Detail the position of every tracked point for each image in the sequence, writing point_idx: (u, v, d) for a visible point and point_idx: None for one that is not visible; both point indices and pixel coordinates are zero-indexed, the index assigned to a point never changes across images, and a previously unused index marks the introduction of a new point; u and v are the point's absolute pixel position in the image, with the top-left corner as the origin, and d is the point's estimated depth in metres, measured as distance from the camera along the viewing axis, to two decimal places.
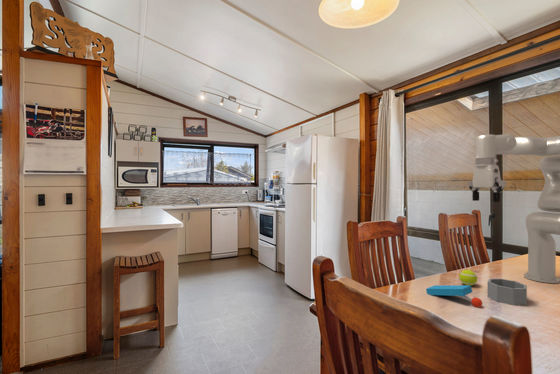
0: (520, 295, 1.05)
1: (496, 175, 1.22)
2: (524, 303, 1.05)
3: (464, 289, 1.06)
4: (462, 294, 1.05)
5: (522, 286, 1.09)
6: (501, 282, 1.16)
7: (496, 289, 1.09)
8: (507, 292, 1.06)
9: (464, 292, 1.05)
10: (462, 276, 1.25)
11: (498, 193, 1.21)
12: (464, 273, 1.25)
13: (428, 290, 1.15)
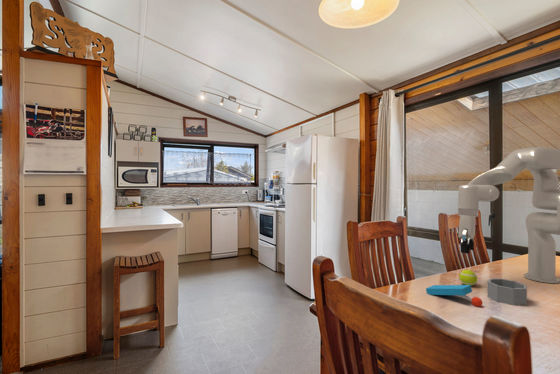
0: (520, 295, 1.05)
1: None
2: (524, 303, 1.05)
3: (464, 289, 1.06)
4: (462, 294, 1.05)
5: (522, 286, 1.09)
6: (501, 282, 1.16)
7: (496, 289, 1.09)
8: (507, 292, 1.06)
9: (464, 292, 1.06)
10: (462, 276, 1.25)
11: None
12: (464, 273, 1.25)
13: (428, 290, 1.16)
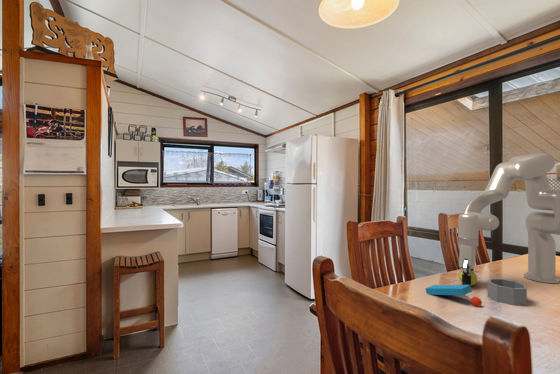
0: (520, 295, 1.05)
1: None
2: (524, 303, 1.05)
3: (464, 289, 1.06)
4: (462, 294, 1.05)
5: (522, 286, 1.09)
6: (501, 282, 1.16)
7: (496, 289, 1.09)
8: (507, 292, 1.06)
9: (464, 292, 1.06)
10: None
11: None
12: None
13: (427, 290, 1.16)
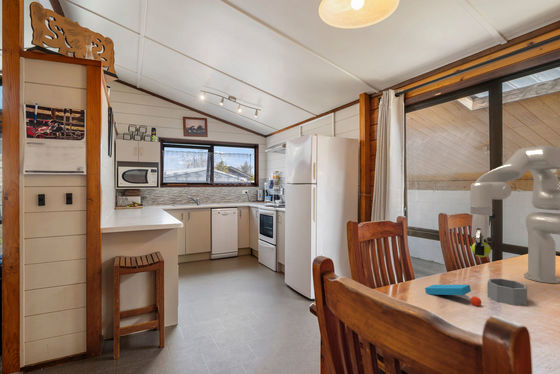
0: (520, 295, 1.05)
1: None
2: (524, 303, 1.05)
3: (463, 288, 1.07)
4: (461, 293, 1.06)
5: (522, 286, 1.09)
6: (501, 282, 1.16)
7: (496, 289, 1.09)
8: (507, 292, 1.06)
9: (463, 291, 1.06)
10: None
11: None
12: None
13: (427, 289, 1.16)
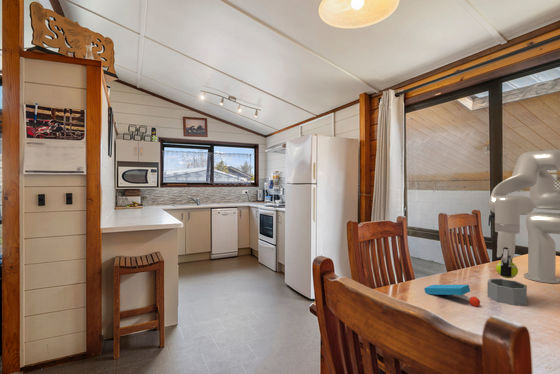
0: (520, 295, 1.05)
1: None
2: (524, 303, 1.05)
3: (462, 288, 1.06)
4: (460, 293, 1.06)
5: (522, 286, 1.09)
6: (501, 282, 1.16)
7: (496, 289, 1.09)
8: (507, 292, 1.06)
9: (462, 291, 1.06)
10: None
11: None
12: None
13: (426, 289, 1.16)
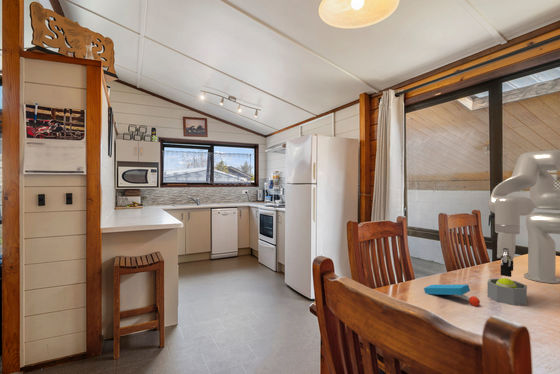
0: (520, 295, 1.05)
1: None
2: (524, 303, 1.05)
3: (462, 288, 1.07)
4: (460, 293, 1.06)
5: (522, 286, 1.09)
6: None
7: (496, 289, 1.09)
8: (507, 292, 1.06)
9: (462, 291, 1.06)
10: None
11: None
12: (501, 283, 1.09)
13: (426, 289, 1.16)
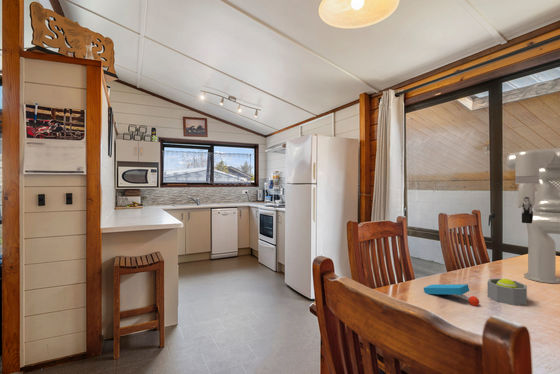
0: (520, 295, 1.05)
1: None
2: (524, 303, 1.05)
3: (461, 288, 1.07)
4: (460, 293, 1.06)
5: (522, 286, 1.09)
6: None
7: (496, 289, 1.09)
8: (507, 292, 1.06)
9: (461, 291, 1.06)
10: None
11: None
12: (502, 282, 1.10)
13: (426, 289, 1.16)
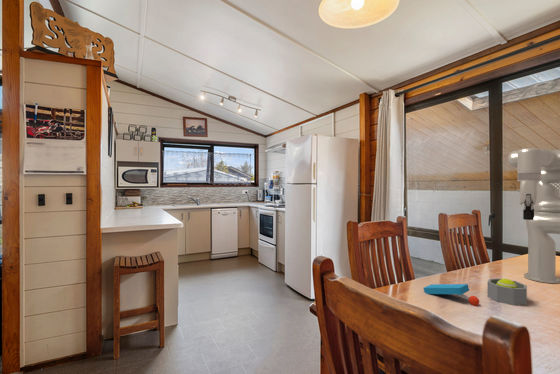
0: (520, 295, 1.05)
1: None
2: (524, 303, 1.05)
3: (462, 288, 1.07)
4: (460, 293, 1.06)
5: (522, 286, 1.09)
6: None
7: (496, 289, 1.09)
8: (507, 292, 1.06)
9: (462, 291, 1.07)
10: None
11: None
12: (502, 282, 1.10)
13: (426, 289, 1.16)
